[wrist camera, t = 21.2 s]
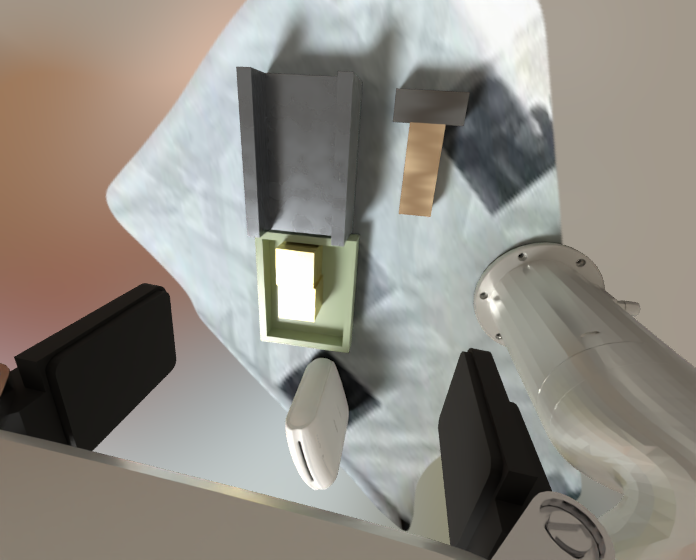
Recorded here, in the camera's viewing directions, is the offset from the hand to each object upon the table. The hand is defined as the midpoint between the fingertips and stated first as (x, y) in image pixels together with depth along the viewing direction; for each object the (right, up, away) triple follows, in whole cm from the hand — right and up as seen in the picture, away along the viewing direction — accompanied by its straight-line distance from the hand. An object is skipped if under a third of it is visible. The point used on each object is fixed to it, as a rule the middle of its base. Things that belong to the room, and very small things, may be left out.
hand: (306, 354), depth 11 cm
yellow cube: (-4, +2, +27) cm, 27 cm away
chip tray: (-3, +2, +30) cm, 30 cm away
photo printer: (-1, -12, +36) cm, 38 cm away
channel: (-2, +15, +24) cm, 28 cm away
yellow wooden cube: (-4, +5, +28) cm, 29 cm away
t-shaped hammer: (+9, +19, +19) cm, 28 cm away
